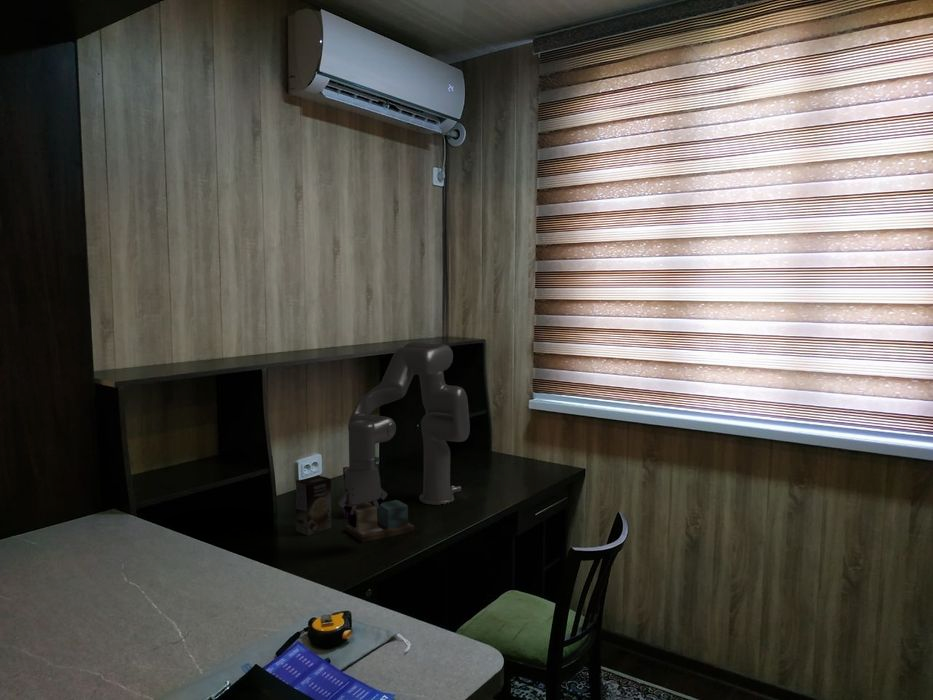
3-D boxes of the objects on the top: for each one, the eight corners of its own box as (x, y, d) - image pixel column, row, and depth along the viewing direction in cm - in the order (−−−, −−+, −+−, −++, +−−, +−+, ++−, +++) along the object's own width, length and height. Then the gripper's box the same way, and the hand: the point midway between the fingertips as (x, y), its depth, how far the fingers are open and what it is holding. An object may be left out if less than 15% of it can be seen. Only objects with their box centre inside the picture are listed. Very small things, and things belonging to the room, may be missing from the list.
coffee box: (308, 536, 206) (307, 485, 204) (295, 531, 210) (294, 480, 208) (332, 528, 213) (331, 478, 211) (319, 523, 217) (318, 474, 215)
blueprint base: (396, 519, 221) (396, 497, 220) (414, 530, 211) (414, 507, 210) (345, 530, 211) (345, 507, 210) (362, 542, 201) (362, 518, 200)
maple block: (368, 521, 201) (367, 502, 200) (377, 527, 196) (377, 508, 195) (349, 525, 197) (349, 506, 196) (358, 532, 192) (358, 512, 192)
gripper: (382, 456, 202) (383, 513, 204) (329, 465, 192) (330, 526, 195) (395, 462, 196) (395, 521, 198) (340, 472, 186) (341, 534, 188)
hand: (363, 523), depth 196 cm, fingers closed on maple block, 6 cm apart
